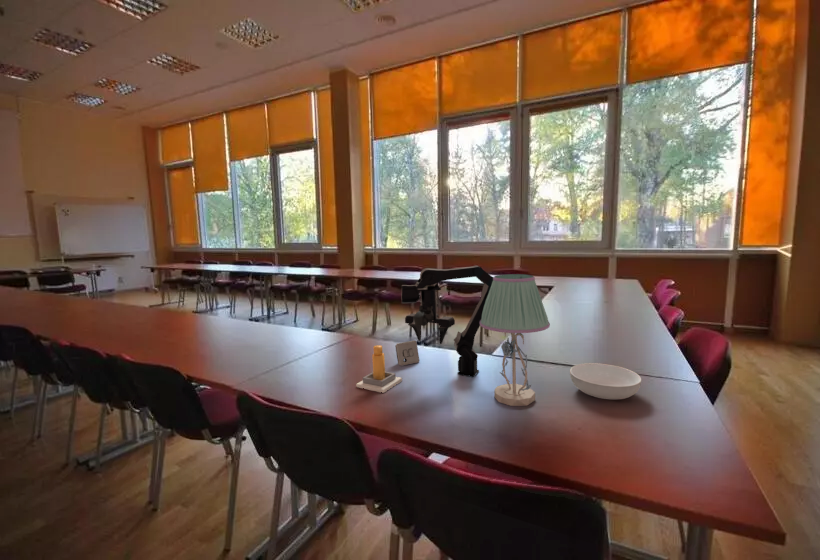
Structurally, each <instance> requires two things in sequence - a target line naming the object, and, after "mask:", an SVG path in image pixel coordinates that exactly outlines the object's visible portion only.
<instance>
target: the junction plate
mask: <svg viewBox="0 0 820 560" xmlns="http://www.w3.org/2000/svg"><path fill="white" fill-rule="evenodd" d="M396 375H397V374H396V373H395V372H388V371H385V379H383V380H382V381H381V380H377V379H373V371H372V372H370V373H369V374H367V375H365V376H363V377H362V380H361V381H359V382H358V383H356V388H358V389H359V388H360V389H363V388H364V389H365V390H369V391H372V392H377V393H381V392H382V394H385V393H386V392H387V390H388V391H389V390H390V388H391V389H392V388H393V386H394V387H395V386H396V384H397V385H398V384H400V383H401V382H403V378H402V377H399V376H398V377H397V376H396ZM364 389H363V390H364Z"/></svg>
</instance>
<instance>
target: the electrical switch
mask: <svg viewBox="0 0 820 560" xmlns="http://www.w3.org/2000/svg"><path fill="white" fill-rule="evenodd" d="M417 342H418V341H417V340H410V341H403V342H398V343H396V344H395V354H396V359H397V364H398V366H400V367H402V366H407V365H411V364H412V365H413V364H416V363H420V355H419V350H418V343H417Z"/></svg>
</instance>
